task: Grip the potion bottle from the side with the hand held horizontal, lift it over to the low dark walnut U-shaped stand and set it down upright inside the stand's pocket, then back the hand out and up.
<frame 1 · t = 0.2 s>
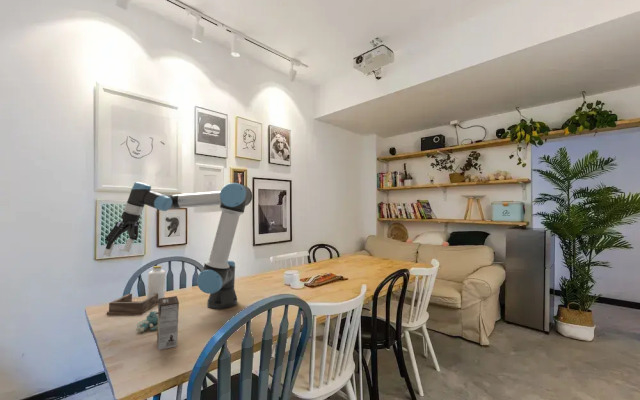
hand: (116, 253, 140), 28 cm above the table, tool tilted 20°, fingers open, 13 cm apart
stuffed animal: (150, 328, 120), on the table
walnut stand: (134, 308, 142), on the table
potion bottle: (155, 299, 158), on the table
coffee box: (166, 344, 106), on the table
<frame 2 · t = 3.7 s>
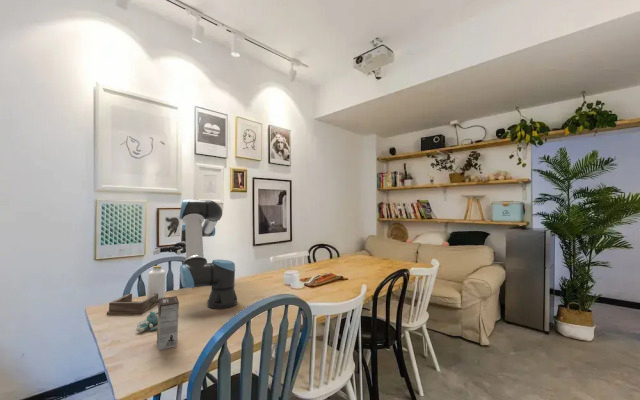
hand: (165, 252, 168), 24 cm above the table, tool horizontal, fingers open, 13 cm apart
nothing on the table moved.
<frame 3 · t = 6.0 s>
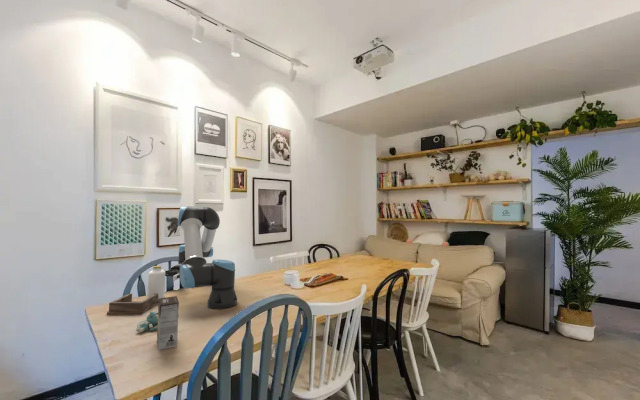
hand: (161, 278, 165), 10 cm above the table, tool horizontal, fingers open, 13 cm apart
nothing on the table moved.
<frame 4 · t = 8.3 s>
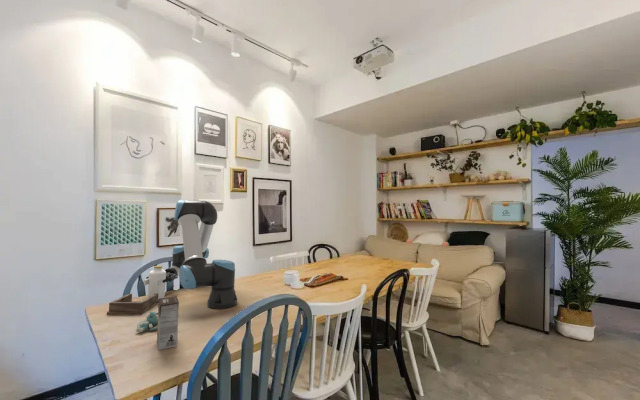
hand: (151, 282, 153), 10 cm above the table, tool horizontal, fingers closed on potion bottle, 6 cm apart
potion bottle: (155, 299, 158), on the table, touching gripper
everything else where it was.
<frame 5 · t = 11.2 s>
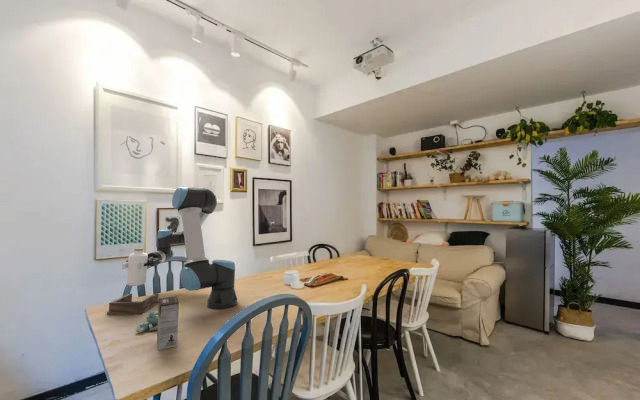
hand: (130, 266, 138), 22 cm above the table, tool horizontal, fingers closed on potion bottle, 6 cm apart
potion bottle: (136, 284, 143), point 12 cm above the table, touching gripper
everything else where it was.
when the fingers open (12 cm above the table, at t = 13.8 s): potion bottle drops 1 cm, resting on walnut stand.
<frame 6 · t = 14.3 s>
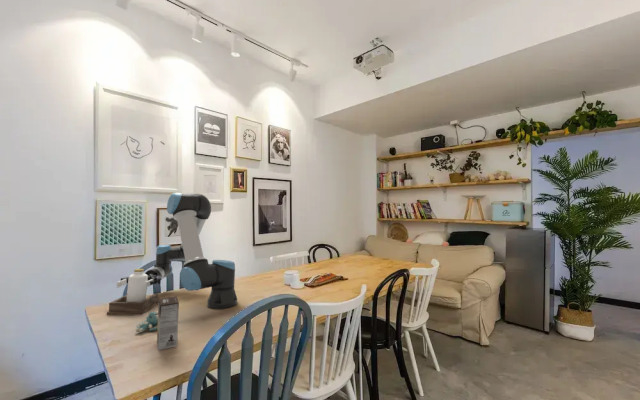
hand: (131, 284, 139), 12 cm above the table, tool horizontal, fingers open, 13 cm apart
potion bottle: (135, 306, 142), point 1 cm above the table, touching walnut stand
everything else where it was.
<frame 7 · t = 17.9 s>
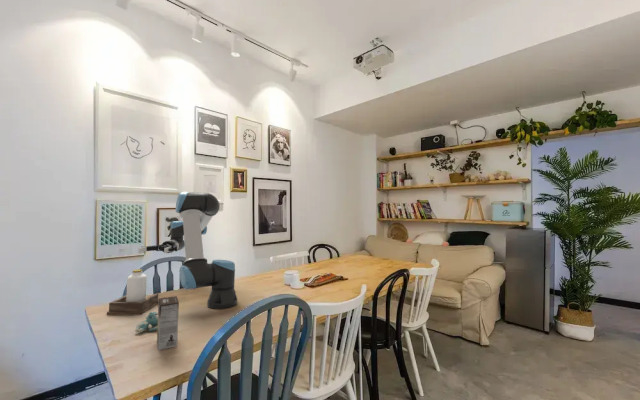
hand: (152, 250, 156), 27 cm above the table, tool horizontal, fingers open, 13 cm apart
nothing on the table moved.
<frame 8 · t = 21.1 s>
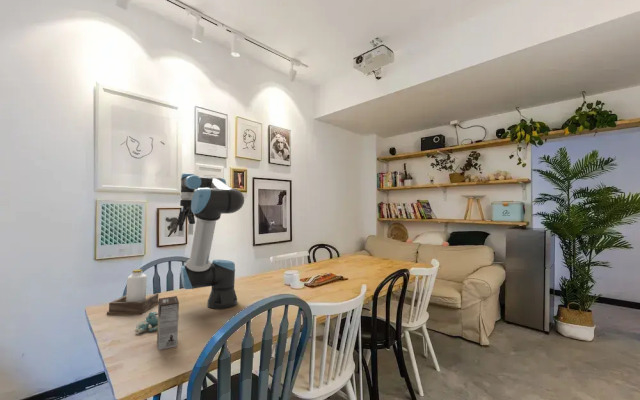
hand: (185, 235, 167), 35 cm above the table, tool pointing down, fingers open, 13 cm apart
at the end: potion bottle 0.6 cm from the walnut stand (horizontally); potion bottle tilted 0°; the gripper is holding nothing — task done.
